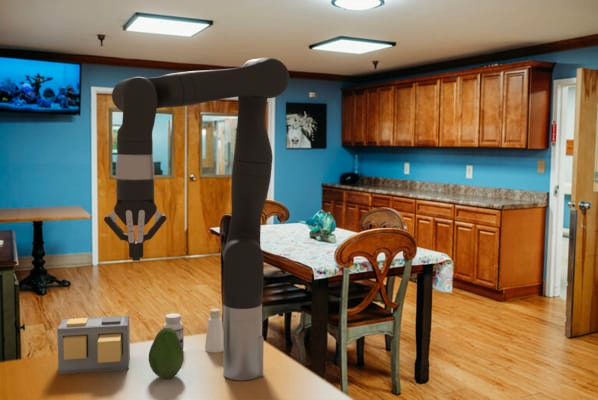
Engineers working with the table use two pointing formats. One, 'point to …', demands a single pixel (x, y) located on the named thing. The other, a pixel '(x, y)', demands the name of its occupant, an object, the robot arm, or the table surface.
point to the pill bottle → (175, 325)
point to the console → (93, 343)
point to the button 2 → (109, 347)
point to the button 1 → (75, 346)
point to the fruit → (166, 354)
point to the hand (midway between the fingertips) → (136, 259)
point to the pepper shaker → (214, 332)
